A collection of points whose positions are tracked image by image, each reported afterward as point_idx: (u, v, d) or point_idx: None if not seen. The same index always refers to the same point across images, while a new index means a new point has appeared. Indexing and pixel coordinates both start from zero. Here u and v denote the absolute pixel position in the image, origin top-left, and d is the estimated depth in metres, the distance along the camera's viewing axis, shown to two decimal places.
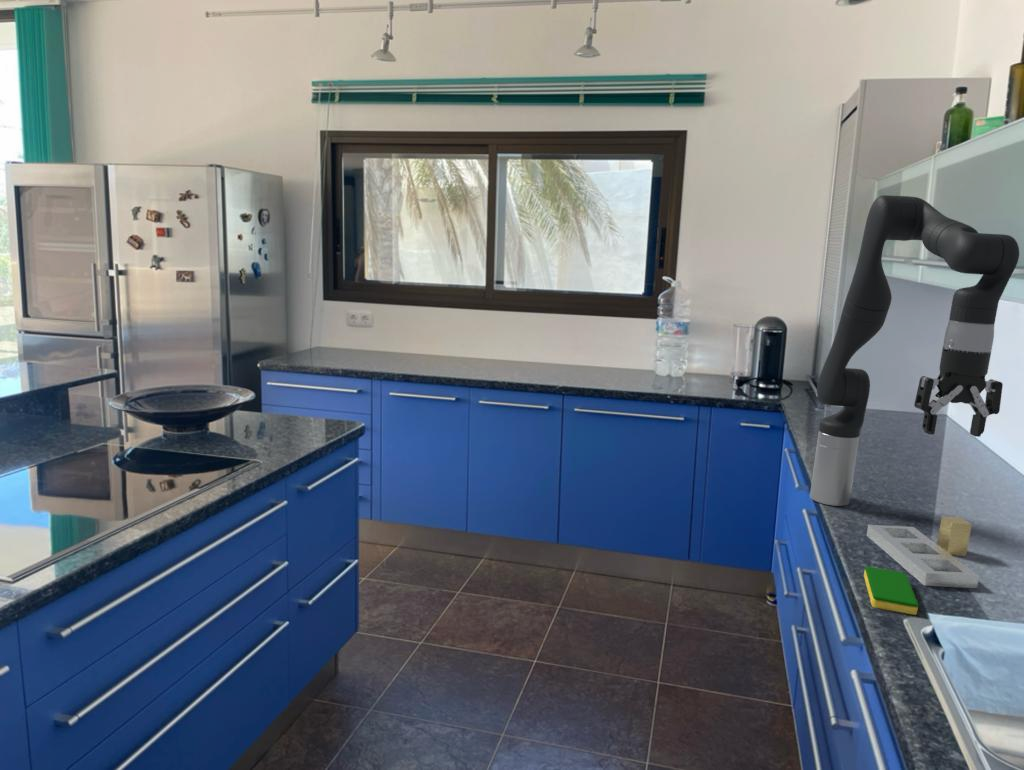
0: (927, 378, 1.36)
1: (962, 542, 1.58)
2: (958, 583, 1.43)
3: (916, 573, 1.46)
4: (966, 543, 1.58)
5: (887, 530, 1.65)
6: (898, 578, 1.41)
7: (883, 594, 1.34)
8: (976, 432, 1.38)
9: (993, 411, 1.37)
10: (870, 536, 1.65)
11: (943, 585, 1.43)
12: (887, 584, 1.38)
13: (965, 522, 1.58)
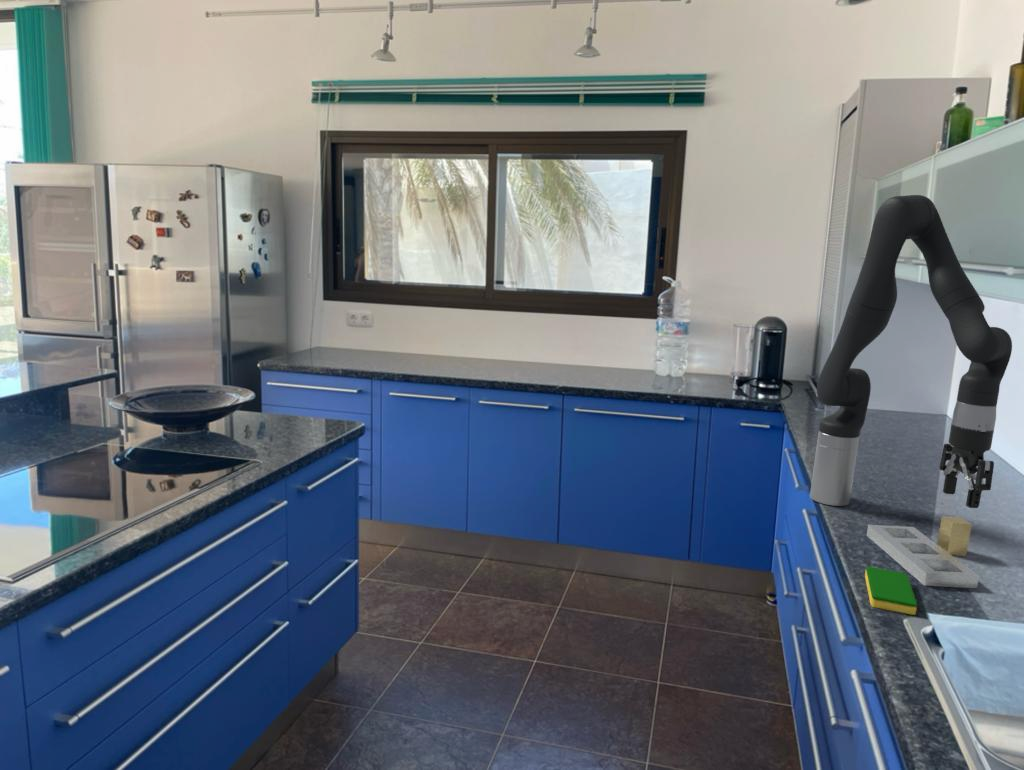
0: (990, 461, 1.50)
1: (962, 542, 1.58)
2: (958, 583, 1.43)
3: (916, 573, 1.46)
4: (966, 543, 1.58)
5: (887, 530, 1.65)
6: (898, 578, 1.41)
7: (882, 594, 1.34)
8: (953, 490, 1.62)
9: None
10: (870, 536, 1.65)
11: (943, 585, 1.43)
12: (887, 584, 1.38)
13: (965, 522, 1.58)
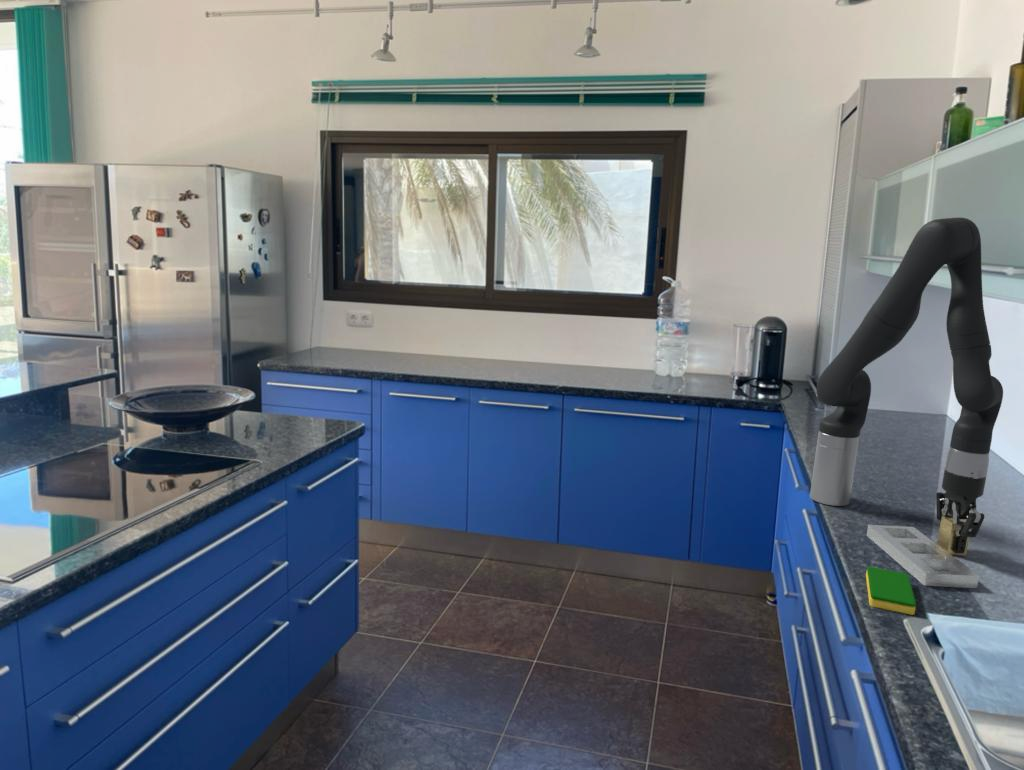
0: (981, 515, 1.52)
1: None
2: (958, 583, 1.43)
3: (916, 573, 1.46)
4: (966, 543, 1.58)
5: (887, 530, 1.65)
6: (899, 578, 1.41)
7: (881, 593, 1.35)
8: None
9: None
10: (870, 536, 1.65)
11: (943, 585, 1.43)
12: (887, 584, 1.38)
13: None
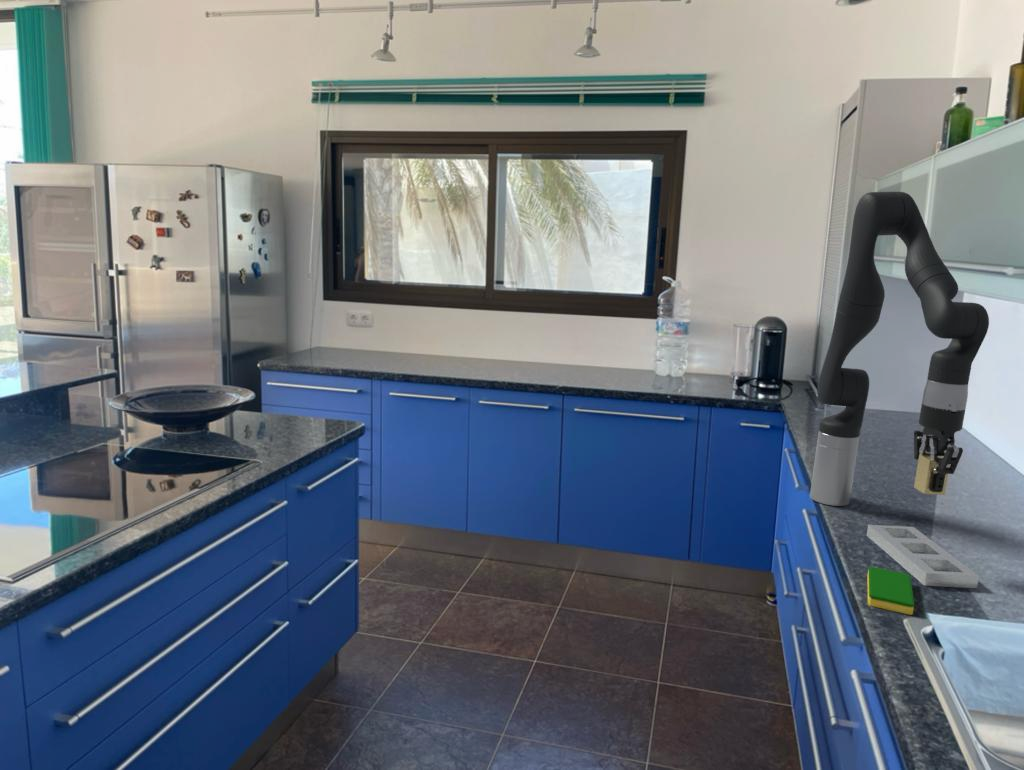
0: (959, 449, 1.44)
1: None
2: (958, 583, 1.43)
3: (916, 573, 1.46)
4: (944, 481, 1.50)
5: (887, 530, 1.65)
6: (900, 579, 1.41)
7: (880, 593, 1.35)
8: None
9: None
10: (870, 536, 1.65)
11: (943, 585, 1.43)
12: (887, 584, 1.38)
13: None
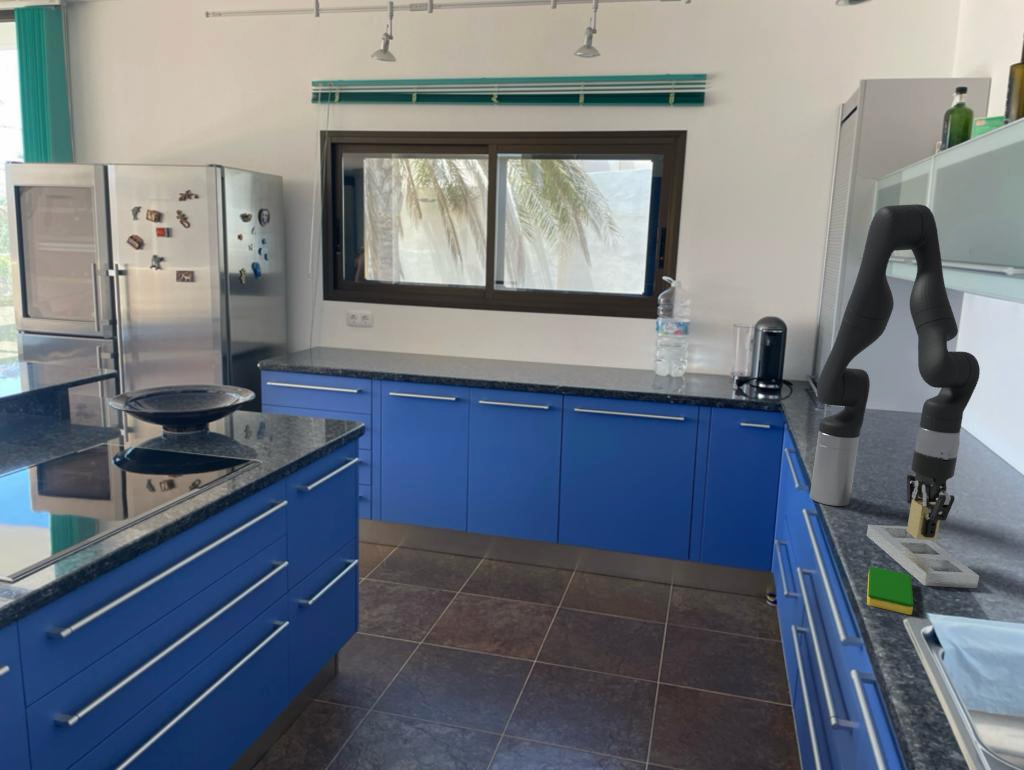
0: (951, 497, 1.46)
1: None
2: (958, 583, 1.43)
3: (916, 573, 1.46)
4: (937, 527, 1.52)
5: (887, 530, 1.65)
6: (900, 579, 1.41)
7: (879, 593, 1.35)
8: None
9: None
10: (870, 536, 1.65)
11: (943, 585, 1.43)
12: (887, 584, 1.39)
13: None
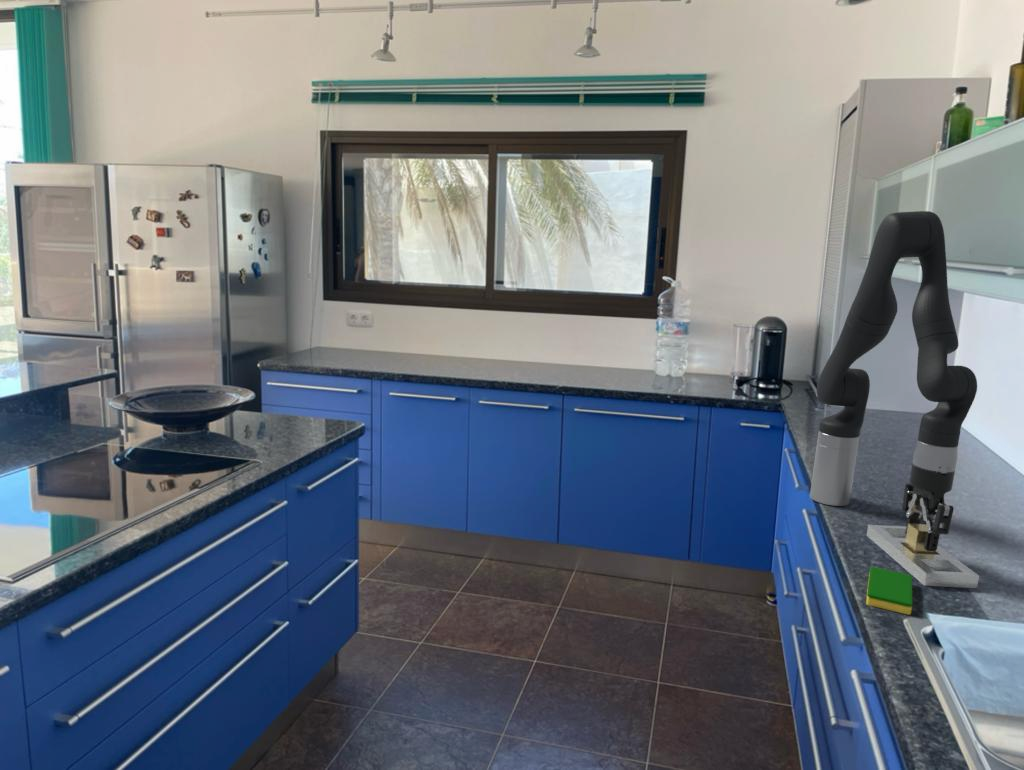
0: (950, 507, 1.46)
1: (928, 551, 1.53)
2: (958, 583, 1.43)
3: (916, 573, 1.46)
4: (932, 552, 1.53)
5: (887, 530, 1.65)
6: (901, 579, 1.41)
7: (878, 592, 1.35)
8: None
9: None
10: (870, 536, 1.65)
11: (943, 585, 1.43)
12: (886, 584, 1.39)
13: None
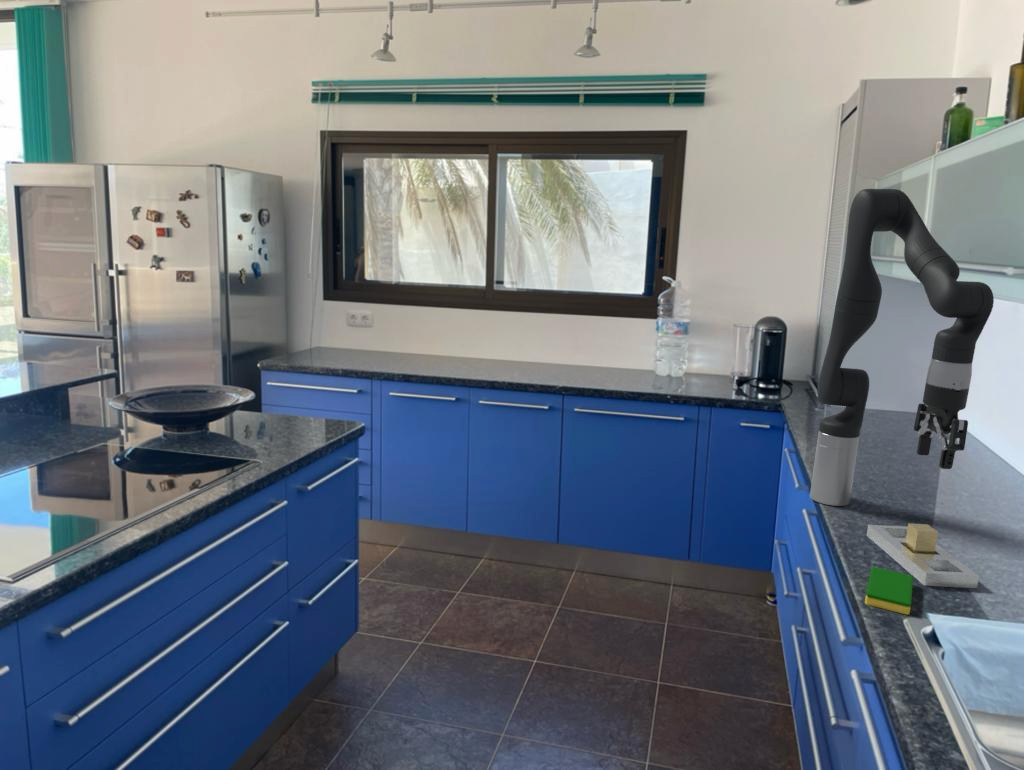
0: (964, 421, 1.44)
1: (928, 551, 1.53)
2: (958, 583, 1.43)
3: (916, 573, 1.46)
4: (932, 552, 1.53)
5: (887, 530, 1.65)
6: (901, 579, 1.41)
7: (877, 592, 1.35)
8: (927, 451, 1.57)
9: None
10: (870, 536, 1.65)
11: (943, 585, 1.43)
12: (886, 584, 1.39)
13: (931, 530, 1.53)
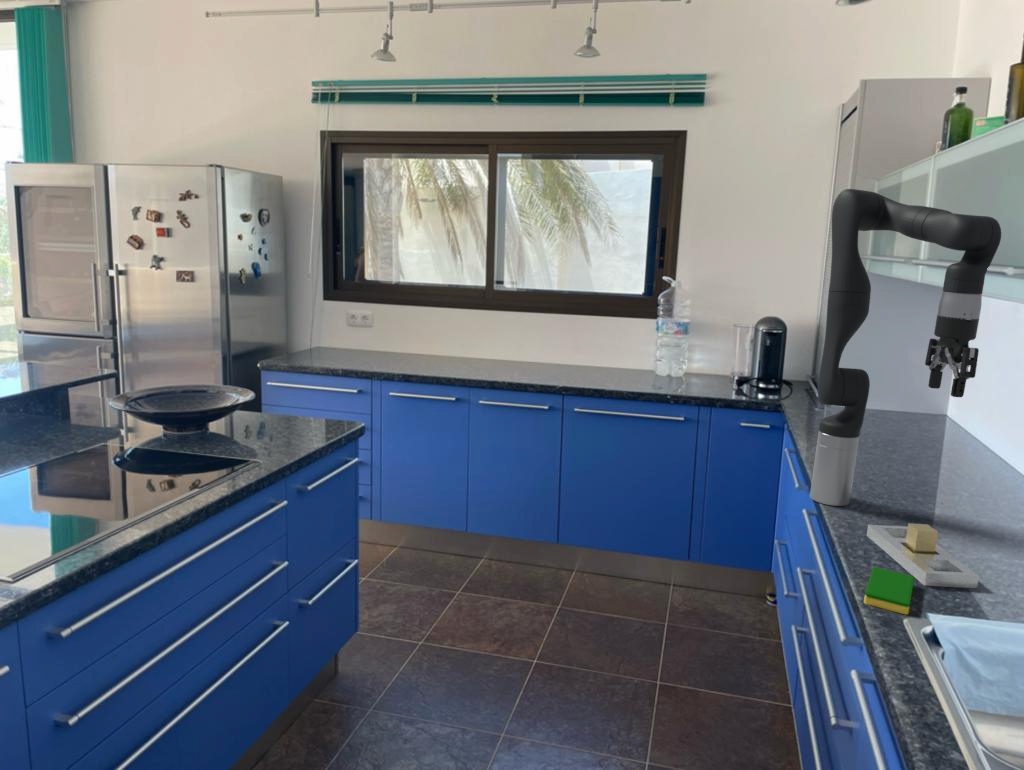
0: (975, 348, 1.50)
1: (928, 551, 1.53)
2: (958, 583, 1.43)
3: (916, 573, 1.46)
4: (932, 552, 1.53)
5: (887, 530, 1.65)
6: (902, 579, 1.41)
7: (876, 592, 1.35)
8: (939, 385, 1.62)
9: None
10: (870, 536, 1.65)
11: (943, 585, 1.43)
12: (886, 584, 1.39)
13: (931, 530, 1.53)
